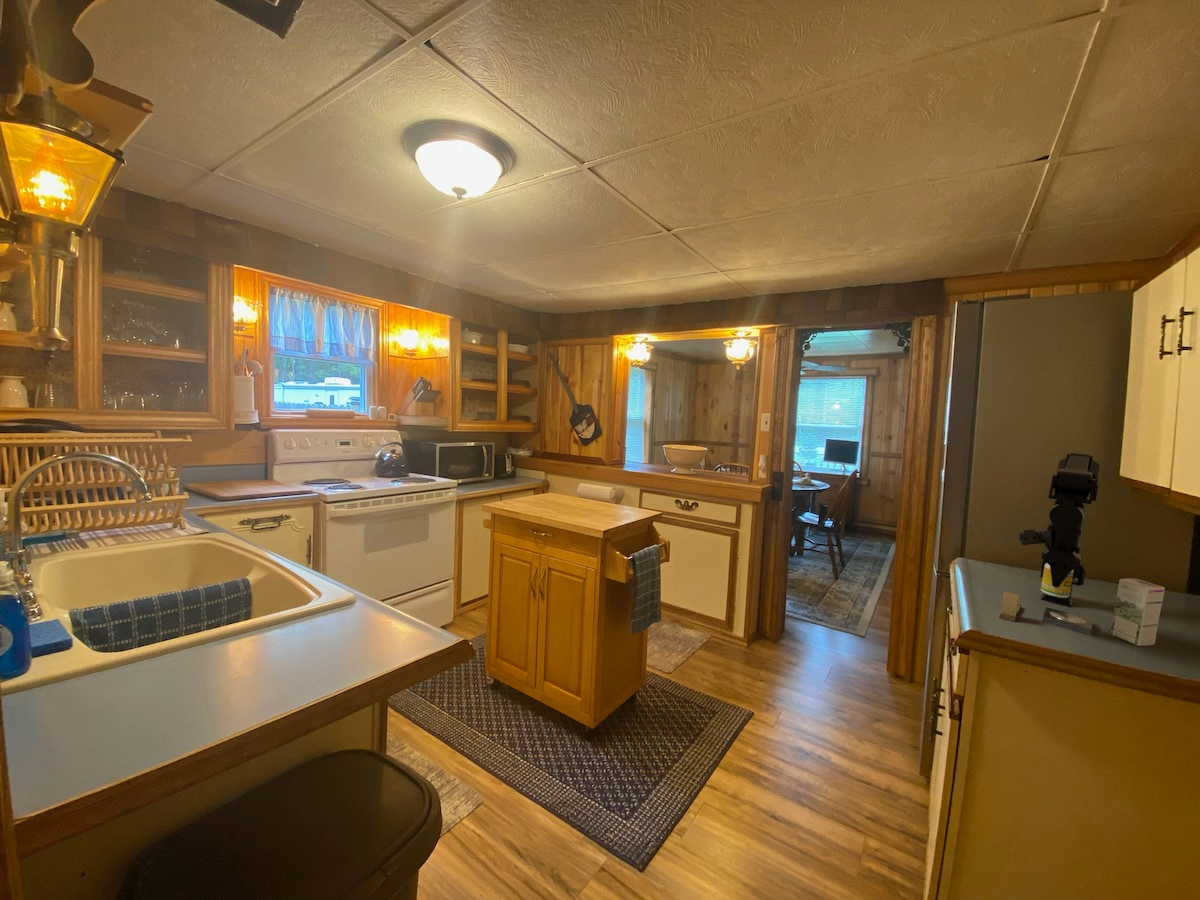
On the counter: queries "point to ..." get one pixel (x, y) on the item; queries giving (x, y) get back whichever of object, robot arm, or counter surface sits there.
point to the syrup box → (1137, 611)
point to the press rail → (1009, 615)
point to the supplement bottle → (1059, 591)
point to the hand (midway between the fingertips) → (1056, 584)
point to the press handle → (1010, 604)
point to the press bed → (1068, 620)
